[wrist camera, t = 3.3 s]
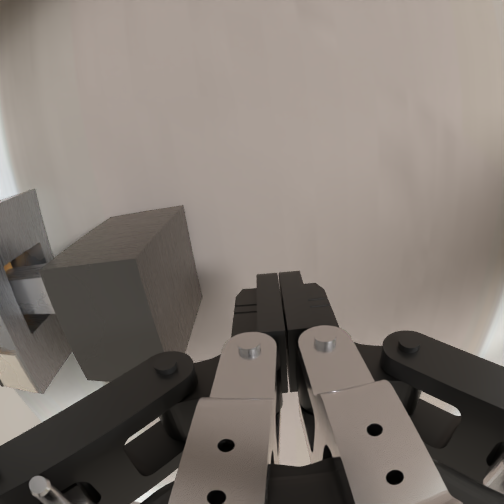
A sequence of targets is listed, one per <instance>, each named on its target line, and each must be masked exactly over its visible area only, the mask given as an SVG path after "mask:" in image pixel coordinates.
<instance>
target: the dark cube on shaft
mask: <svg viewBox="0 0 504 504" xmlns="http://www.w3.org/2000/svg"><path fill="white" fill-rule="evenodd" d="M5 272H6V275H7V278H8V280H9V283H10V286H11V288H12V291H13V293H14V296H15V298H16V301H17V303H18V305H19V308H20V310H21V312H22V314H56V316H57V319H58V321H59V323H60V325H61V328H62V330H63V332H64V334H65V336H66V339H67V341H68V343H69V345H70V347H71V349H72V351H73V353H74V355H75V357H76V359H77V361H78V363H79V365H80V367H81V369H82V371H83V373H84V374H85V376H86V378H87V380H95V381H109V382H111V381H113V380H115V379H116V378H118V377H120V376H121V375H123V374H124V373H126V372H128V371H129V370H131V369H133V368H134V367H136V366H137V365H139V364H141V363H142V362H144V361H145V360H147V359H149V358H150V357H152V356H154V355H156V354H158V353H162V352H167V351H178V352H182V353H185V351H186V348H187V345H188V341H189V338H190V335H191V332H192V328H193V325H194V322H195V318H196V315H197V312H198V309H199V306H200V302H201V299H202V294H201V289H200V285H199V280H198V276H197V271H196V267H195V262H194V257H193V252H192V247H191V242H190V237H189V232H188V227H187V222H186V217H185V212H184V206H183V205H182V206H176V207H169V208H163V209H156V210H150V211H144V212H138V213H132V214H126V215H121V216H115V217H110V218H109V219H108V220H106V221H105V222H103V223H102V224H100V225H99V226H97V227H96V228H95V229H93V230H92V231H90V232H89V233H87V234H86V235H85V236H83V237H82V238H81V239H79V240H78V241H76V242H75V243H74V244H72V245H71V246H70V247H68V248H67V249H66V250H64V251H63V252H62V253H60V254H59V255H58V256H56V257H55V258H54V259H52V260H51V261H50V262H48V263H44V264H37V265H30V266H23V267H16V268H9V269H8V270H7V271H5Z"/></svg>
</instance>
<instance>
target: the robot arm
mask: <svg viewBox="0 0 504 504" xmlns="http://www.w3.org/2000/svg"><path fill="white" fill-rule="evenodd" d="M279 285H280V289H279ZM287 369H288V377H289V386H290V392H297V391H298V396H299V414H300V418H301V423H302V427H303V431H304V435H305V440H306V444H307V448H308V452H309V457H310V462H311V464H310V465H306V466H301V467H296V466H287V465H279V454H280V428H281V408H282V402H283V401H282V393H287V392H288V381H287ZM422 391H423V392H425V393H427V394H429V395H431V396H433V397H435V398H438V399H440V400H442V401H444V402H446V403H448V404H450V405H453V406H454V407H456V408H457V409H458V410H459V411H460V413H461V416H455V415H453V414H451V413H449V412H446V411H444V410H442V409H440V408H438V407H436V406H434V405H432V404H430V403H428V402H426V401H424V400H422V399H420V398H419V397H420V394H421V392H422ZM158 417H159V418H160V421H159V422H157V423H156V424H155V425H153V426H152V427H150V428H149V429H148V430H146V431H145V432H143V433H142V434H141V435H139V436H138V437H136V438H135V439H133V440H132V441H130V442H129V443H128V444H126V445H125V442H126V441H127V439H128V438H129V437H131V436H132V435H133V434H135V433H136V432H138V431H139V430H141V429H142V428H144V427H145V426H146V425H148V424H149V423H151V422H152V421H153V420H155V419H156V418H158ZM177 468H178V471H177V474H176V478H175V481H173V482H171V483H169V484H167V485H165V486H164V487H162V488H160V489H159V490H157V491H156V492H155V493H153V494H152V495H151V496H149V497H148V498H147V499H146V500H144V501H143V502H142V503H140V504H504V367H503V366H500V365H498V364H495V363H493V362H490V361H488V360H485V359H483V358H480V357H478V356H475V355H473V354H470V353H468V352H465V351H463V350H460V349H458V348H455V347H453V346H450V345H448V344H445V343H443V342H440V341H438V340H435V339H433V338H431V337H428V336H426V335H423V334H421V333H418V332H414V331H398V332H394V333H392V334H390V335H389V336H387V337H386V338H385V340H384V342H383V346H371V345H362V344H358V343H355V342H353V340H352V338H351V336H350V335H349V334H348V333H347V332H346V331H345V330H343V329H341V328H339V326H338V323H337V320H336V318H335V315H334V313H333V310H332V308H331V306H330V303H329V300H328V299H327V295H326V293H325V290H324V289H323V288H322V287H320V286H319V285H318V284H316V283H310V284H303V281H302V278H301V274H300V271H292V272H280V273H279V282H278V275H277V273H269V274H257V288H253V289H243V290H242V291H241V292H240V293H239V294H238V295H237V296H236V300H235V309H234V318H233V326H232V335H231V338H230V339H229V340H227V341H226V342H225V344H224V346H223V348H222V352H221V354H220V355H219V356H217V357H214V358H212V359H209V360H205V361H201V362H197V363H193V360H192V359H191V357H190V356H188V355H187V354H185V353H182V352H178V351H167V352H162V353H158V354H156V355H154V356H152V357H150V358H149V359H147V360H145V361H144V362H142V363H141V364H139V365H137V366H136V367H134V368H133V369H131V370H129V371H128V372H126V373H124V374H123V375H121V376H120V377H118V378H116V379H115V380H113V381H111V382H110V383H108V384H106V385H105V386H103V387H101V388H100V389H98V390H97V391H95V392H93V393H92V394H90V395H88V396H86V397H85V398H83V399H81V400H80V401H78V402H76V403H75V404H73V405H71V406H70V407H68V408H66V409H65V410H63V411H61V412H59V413H58V414H56V415H54V416H52V417H51V418H49V419H47V420H46V421H44V422H42V423H40V424H39V425H37V426H35V427H33V428H32V429H30V430H28V431H26V432H25V433H23V434H21V435H19V436H17V437H16V438H14V439H12V440H10V441H8V442H7V443H5V444H3V445H1V446H0V504H130V503H132V502H133V501H135V500H136V499H137V498H139V497H140V496H142V495H143V494H144V493H146V492H147V491H149V490H150V489H151V488H153V487H154V486H155V485H157V484H158V483H159V482H161V481H162V480H163V479H165V478H166V477H167V476H168V475H170V474H171V473H172V472H174V471H175V470H176V469H177Z"/></svg>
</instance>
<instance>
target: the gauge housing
mask: <svg viewBox="0 0 504 504" xmlns="http://www.w3.org/2000/svg"><path fill="white" fill-rule="evenodd" d="M52 259H54V258H53V255H52V252H51V248H50V245H49V242H48V238H47V235H46V231H45V228H44V224H43V220H42V216H41V213H40V209H39V204H38V200H37V196H36V191H35V189H32V190H29V191H26V192H23V193H20V194H17V195H14V196H11V197H9V198H6V199H3V200H0V385H1V386H6V387H11V388H15V389H19V390H24V391H29V392H34V393H41V394H44V392H45V391H46V389H47V387H48V386H49V384H50V383H51V381H52V380H53V378H54V377H55V375H56V374H57V372H58V371H59V369H60V368H61V367H62V365H63V364H64V362H65V361H66V359H67V358H68V356H69V355H70V354H71V352H72V349H71V347H70V345H69V343H68V341H67V339H66V336H65V334H64V332H63V330H62V328H61V325H60V323H59V321H58V319H57V316H56V314H22V312H21V310H20V308H19V305H18V303H17V301H16V298H15V296H14V293H13V291H12V288H11V286H10V283H9V280H8V278H7V275H6V272H5V270H4V267H3V266H5V265H6V264H8V263H9V262H11V265H12V268H16V267H23V266H30V265H37V264H44V263H48V262H50V261H51V260H52Z"/></svg>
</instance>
